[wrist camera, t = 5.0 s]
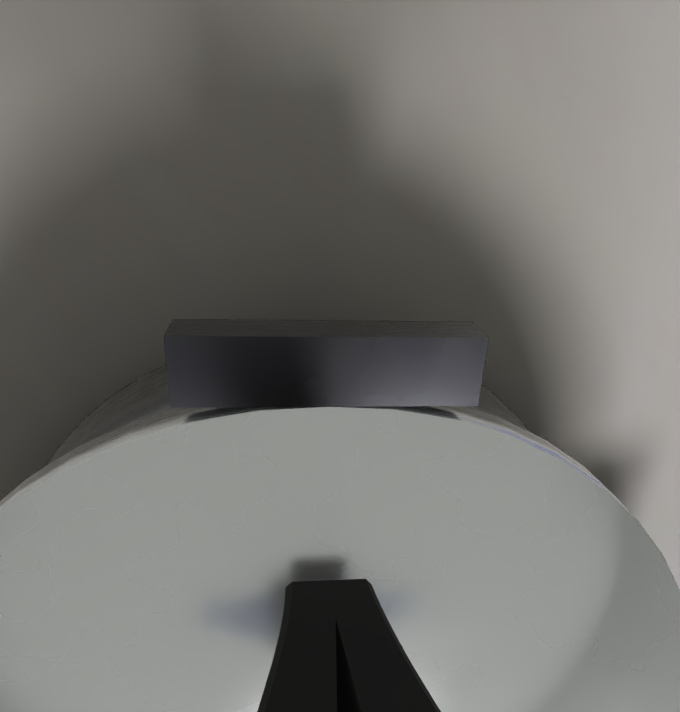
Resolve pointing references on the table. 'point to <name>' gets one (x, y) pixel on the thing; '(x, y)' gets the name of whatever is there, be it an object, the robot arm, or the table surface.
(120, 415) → the cooker pot
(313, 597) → the robot arm
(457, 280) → the table surface
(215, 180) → the table surface
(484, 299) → the table surface
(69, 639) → the lid
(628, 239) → the table surface
